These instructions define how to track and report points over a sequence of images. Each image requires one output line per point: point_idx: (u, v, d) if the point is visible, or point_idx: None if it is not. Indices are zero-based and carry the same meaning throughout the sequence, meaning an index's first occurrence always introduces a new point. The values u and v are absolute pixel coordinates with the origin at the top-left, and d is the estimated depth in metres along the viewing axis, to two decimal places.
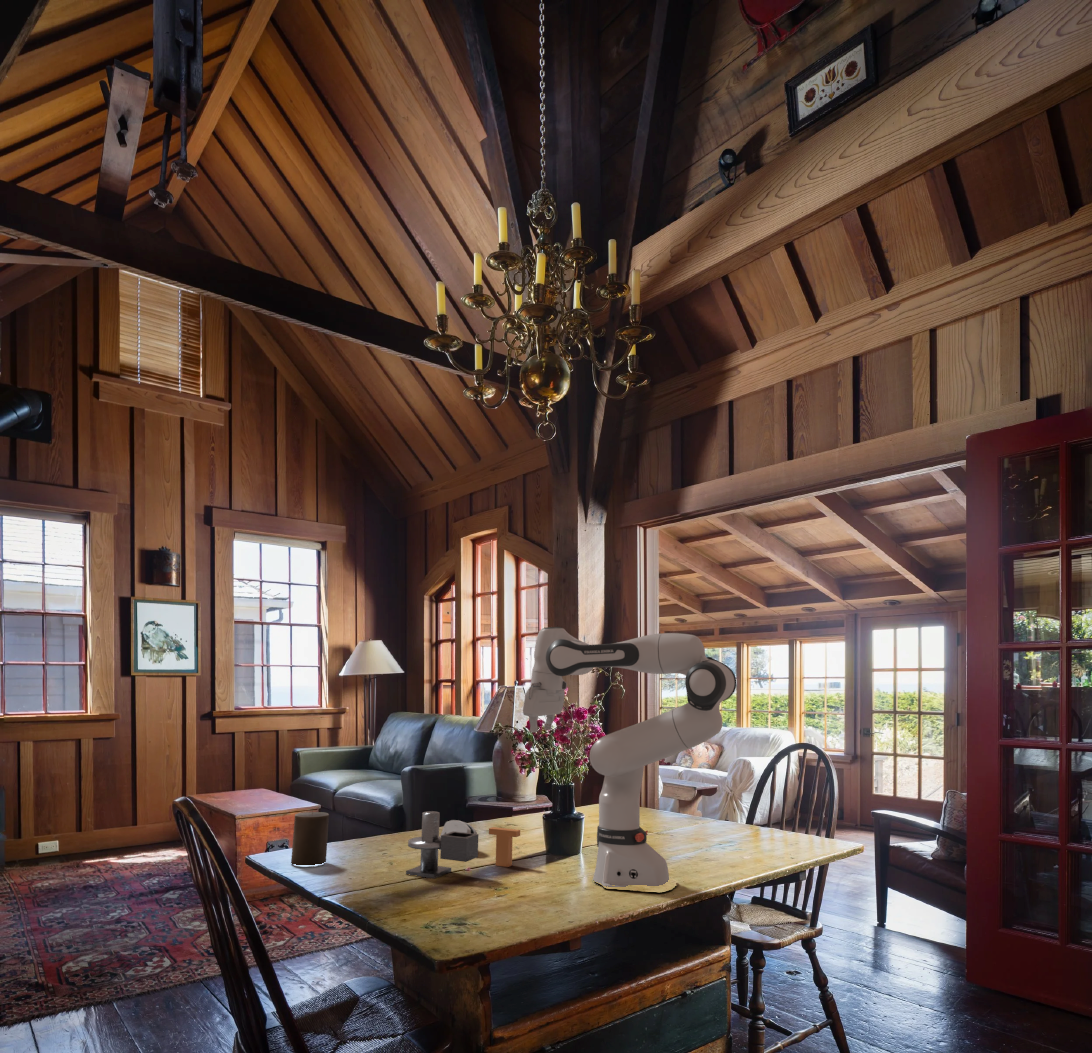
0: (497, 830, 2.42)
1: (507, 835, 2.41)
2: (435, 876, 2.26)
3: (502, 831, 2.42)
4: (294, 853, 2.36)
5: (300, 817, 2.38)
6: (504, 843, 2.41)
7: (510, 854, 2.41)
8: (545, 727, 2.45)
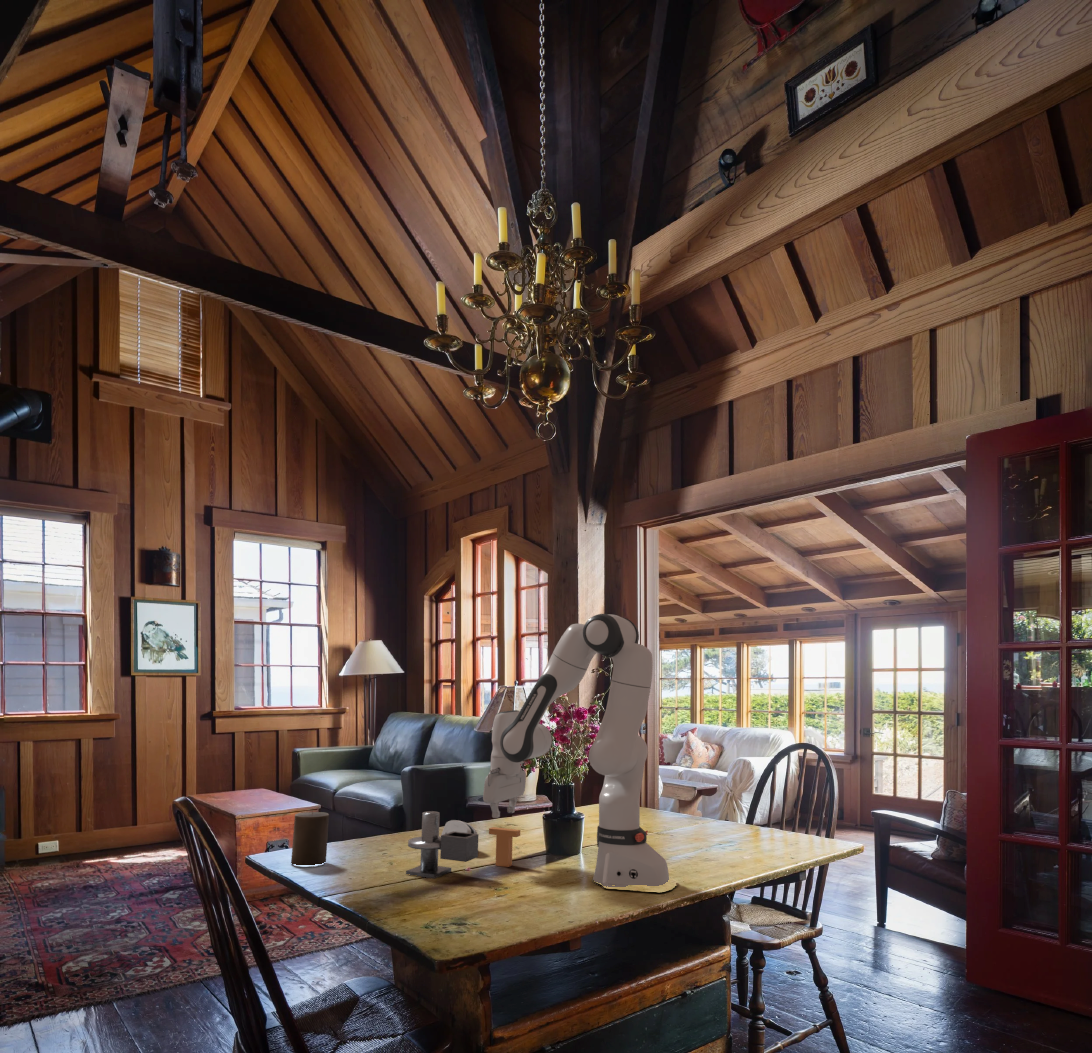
0: (497, 830, 2.42)
1: (507, 835, 2.41)
2: (435, 876, 2.26)
3: (502, 831, 2.42)
4: (294, 853, 2.36)
5: (300, 817, 2.38)
6: (504, 843, 2.41)
7: (510, 854, 2.41)
8: (508, 810, 2.48)
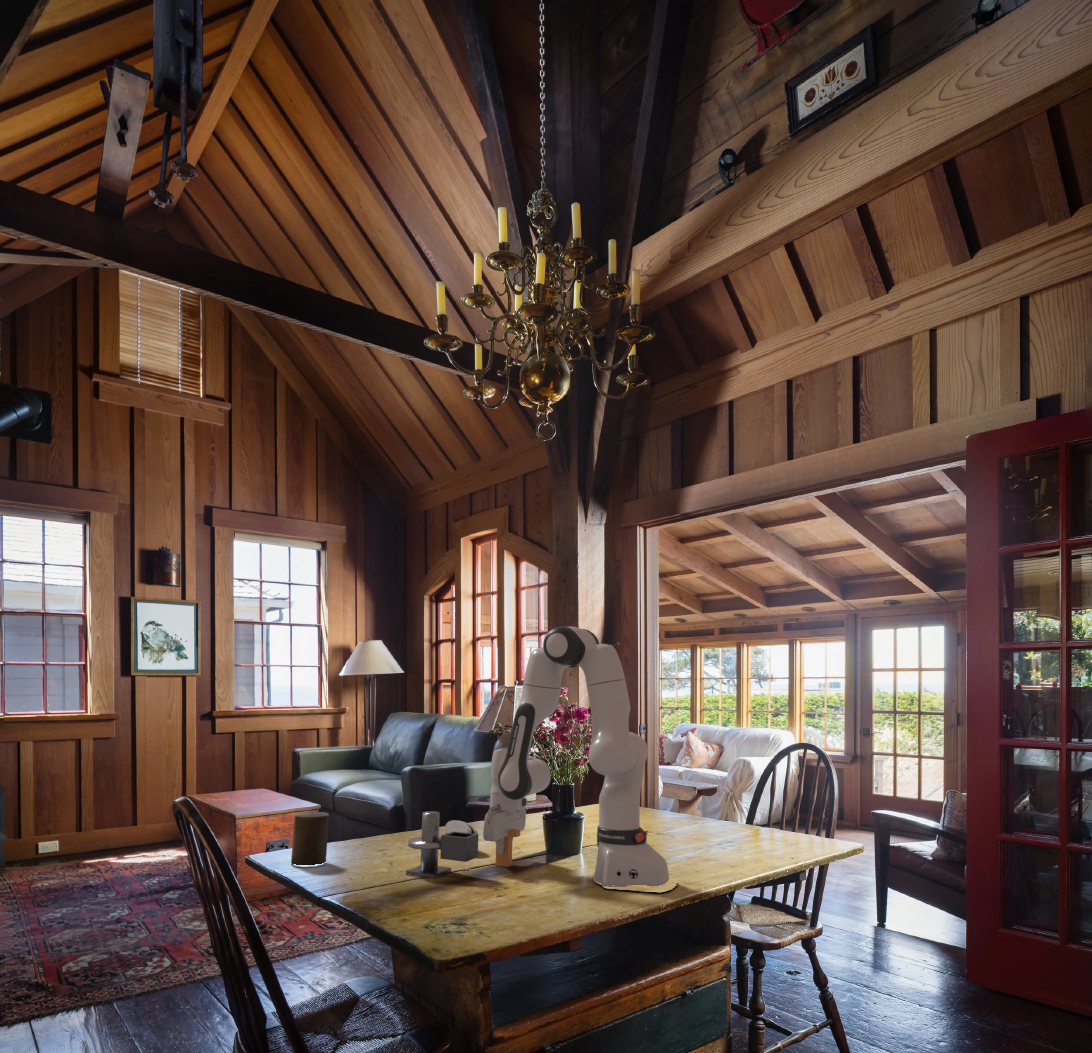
0: None
1: None
2: (435, 876, 2.26)
3: None
4: (294, 853, 2.36)
5: (300, 817, 2.38)
6: (504, 843, 2.41)
7: (510, 854, 2.41)
8: None
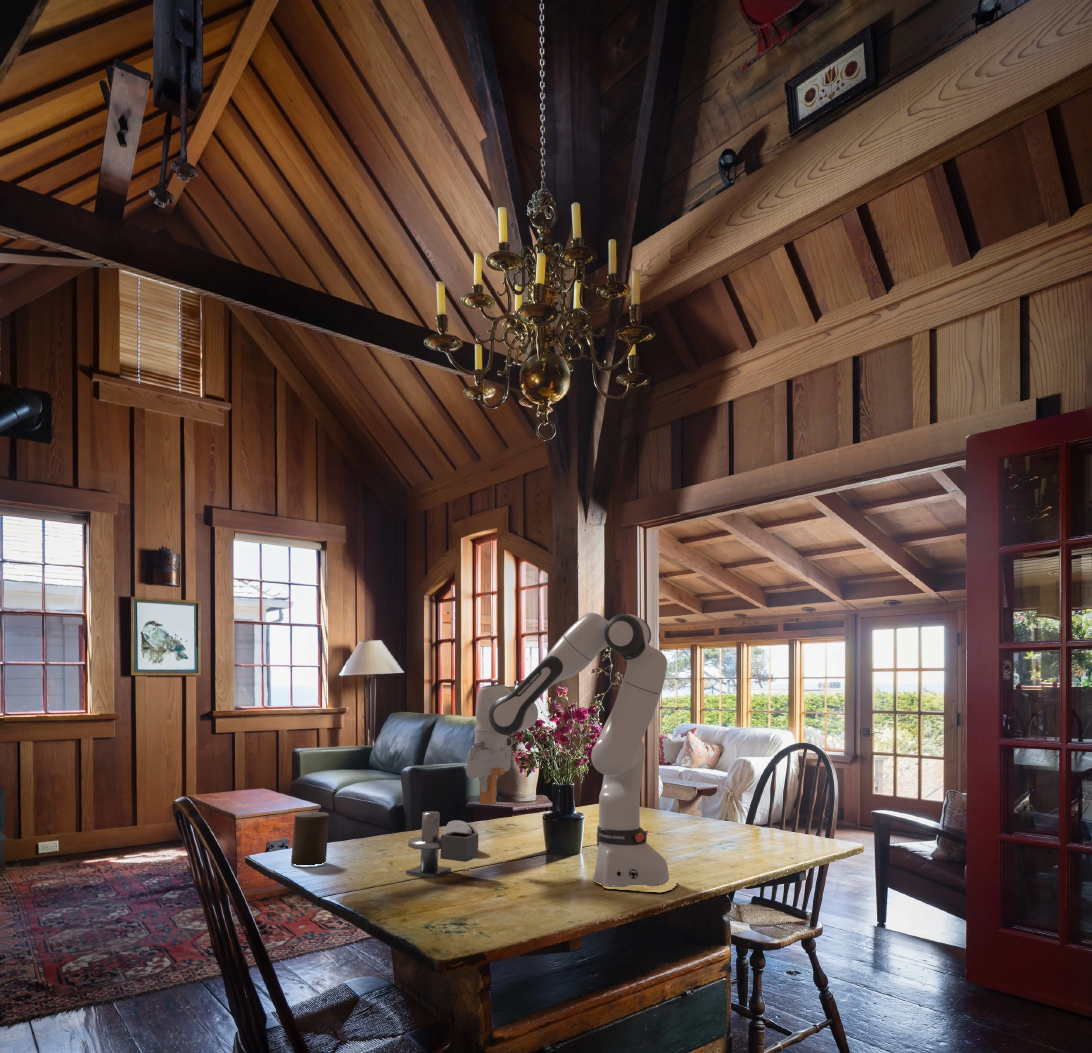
0: None
1: None
2: (435, 876, 2.26)
3: None
4: (294, 853, 2.36)
5: (300, 817, 2.38)
6: (488, 781, 2.38)
7: (494, 792, 2.39)
8: None
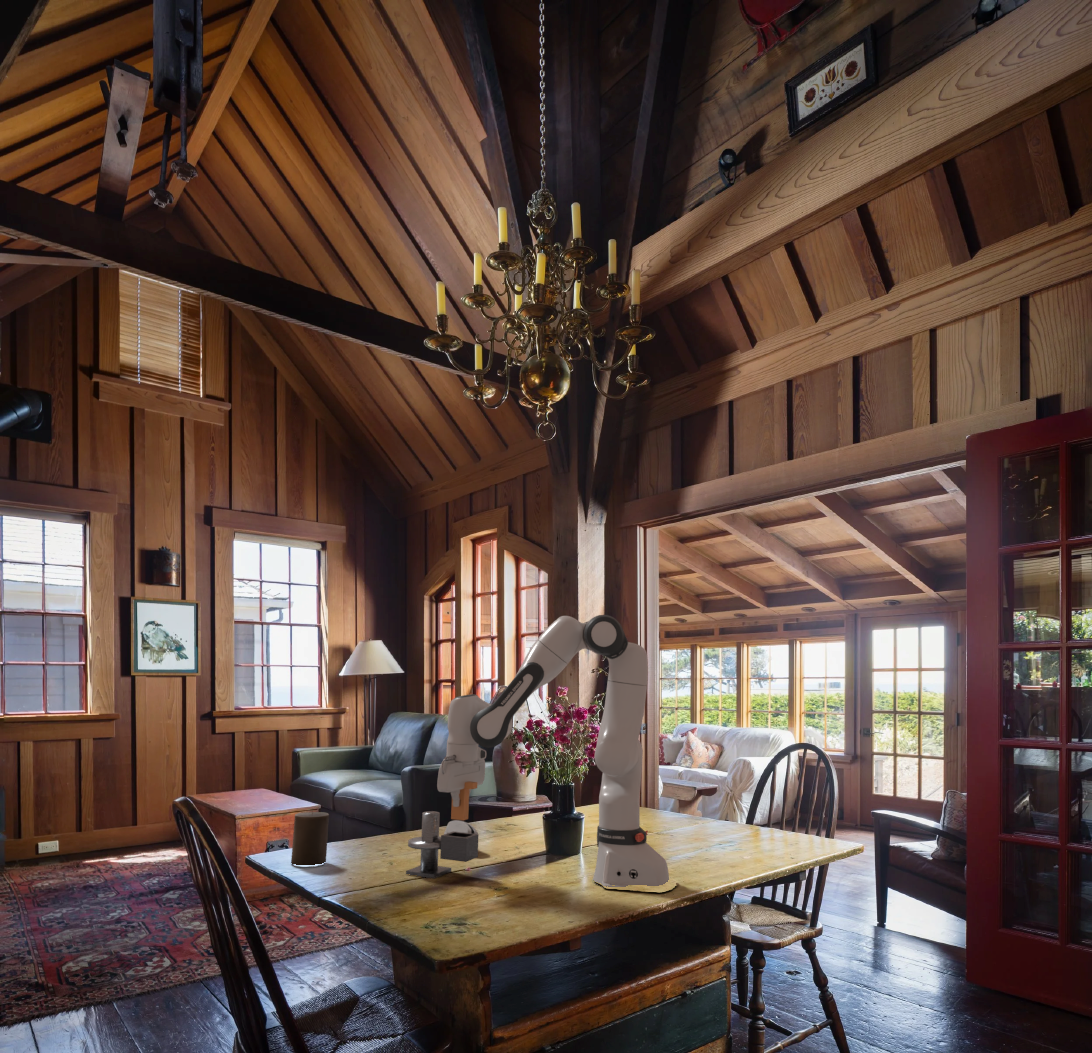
0: None
1: None
2: (435, 876, 2.26)
3: None
4: (294, 853, 2.36)
5: (300, 817, 2.38)
6: (460, 795, 2.29)
7: (466, 807, 2.29)
8: None
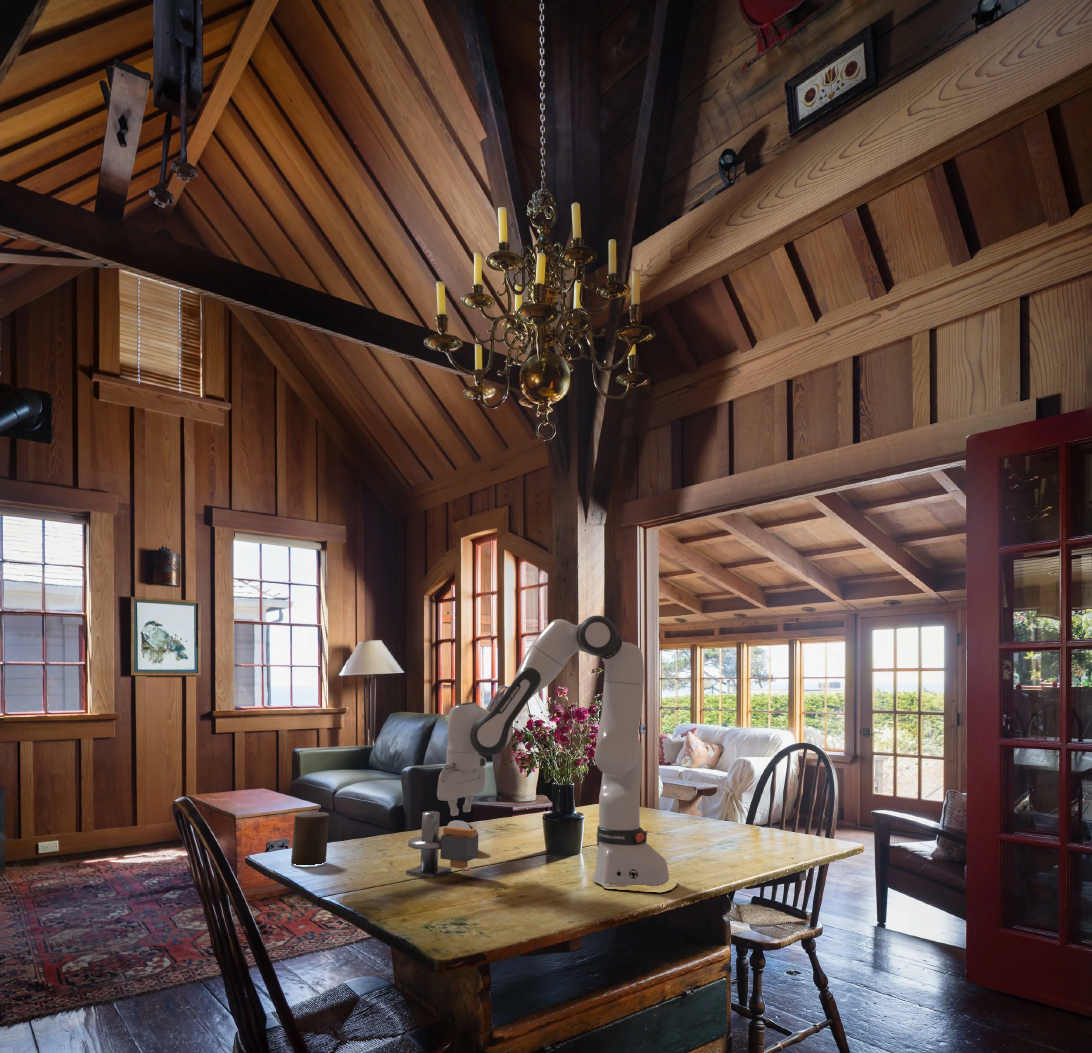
0: (452, 830, 2.29)
1: (462, 835, 2.27)
2: (435, 876, 2.26)
3: (457, 831, 2.28)
4: (294, 853, 2.36)
5: (300, 817, 2.38)
6: None
7: None
8: (464, 809, 2.32)
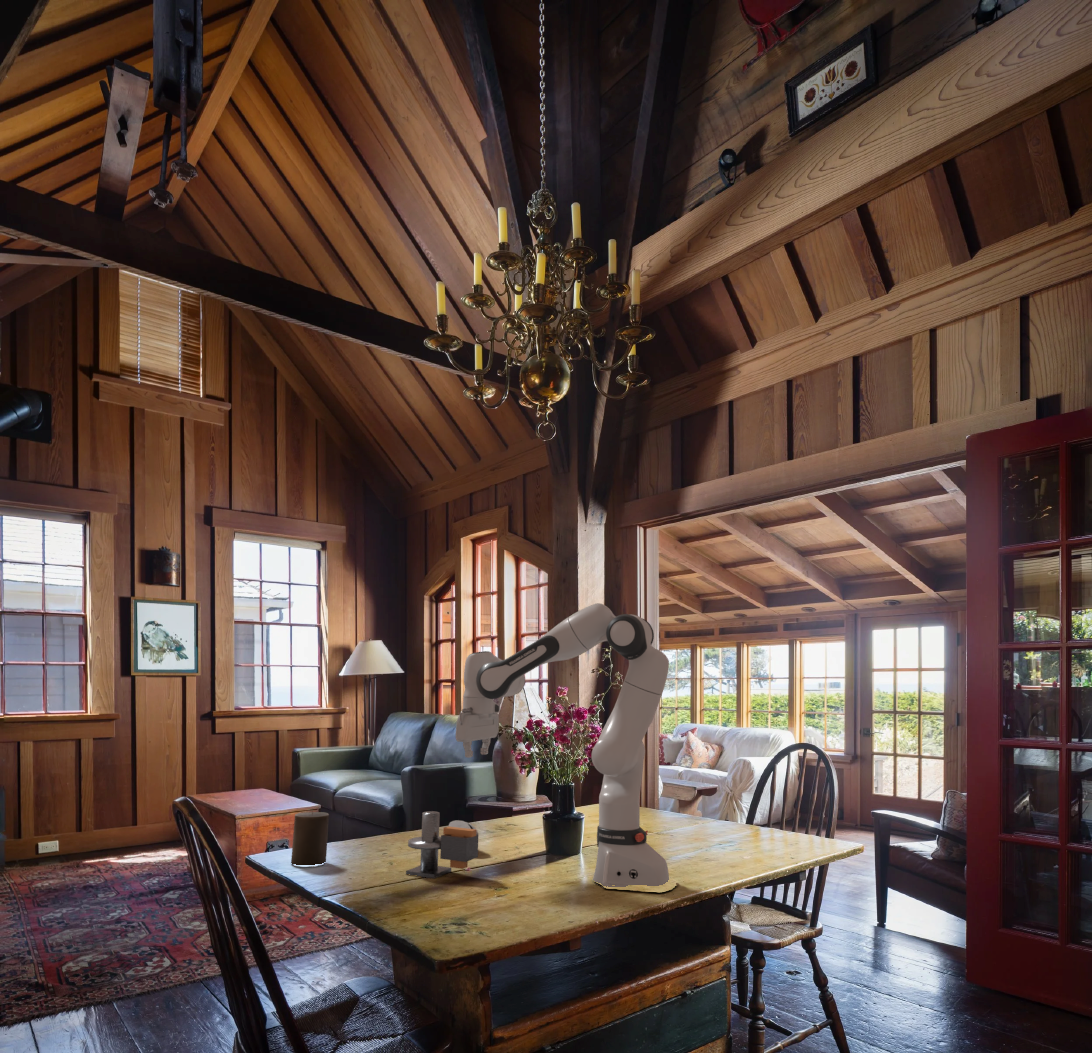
0: (452, 830, 2.29)
1: (462, 835, 2.27)
2: (435, 876, 2.26)
3: (457, 831, 2.28)
4: (294, 853, 2.36)
5: (300, 817, 2.38)
6: None
7: None
8: (481, 752, 2.47)
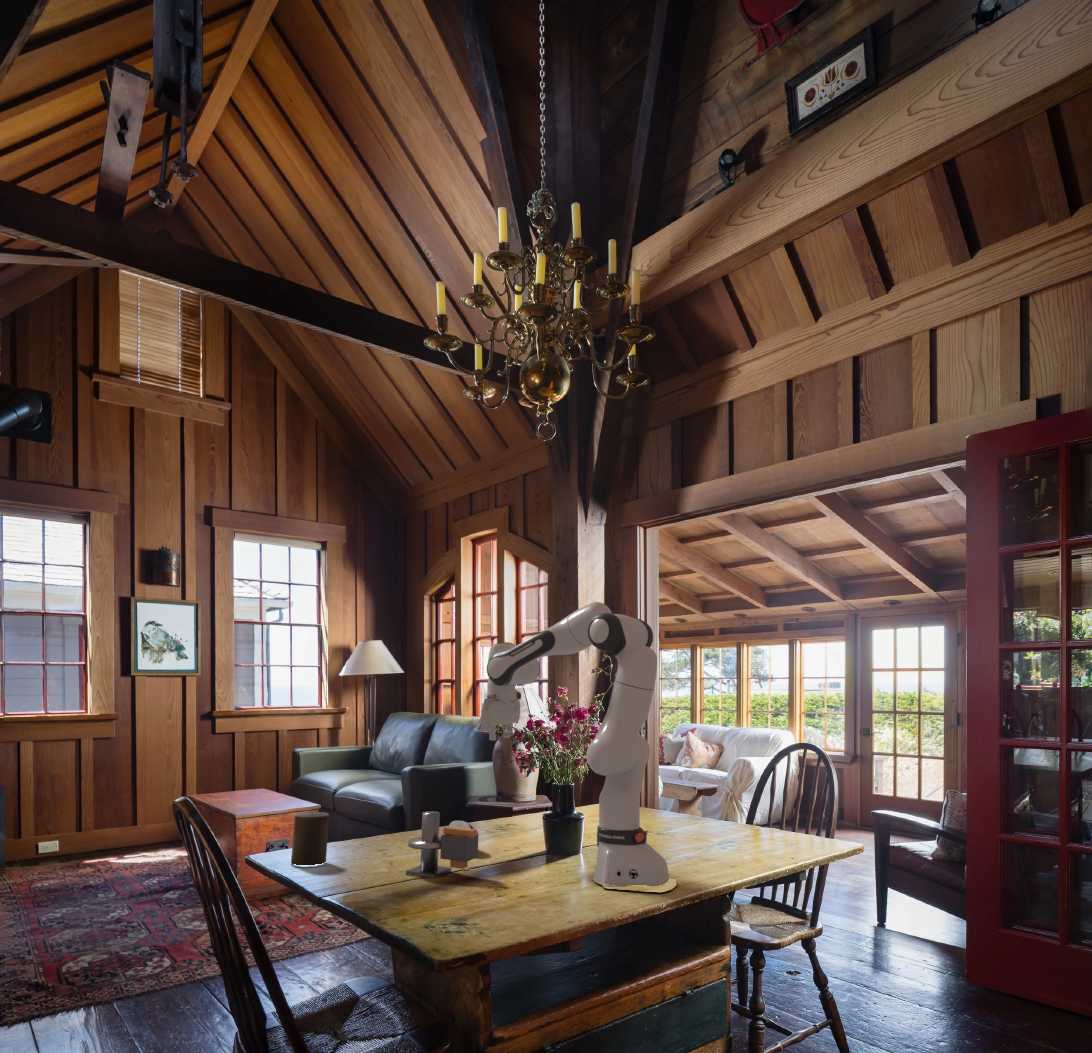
0: (452, 830, 2.29)
1: (462, 835, 2.27)
2: (435, 876, 2.26)
3: (457, 831, 2.28)
4: (294, 853, 2.36)
5: (300, 817, 2.38)
6: None
7: None
8: (504, 736, 2.66)
